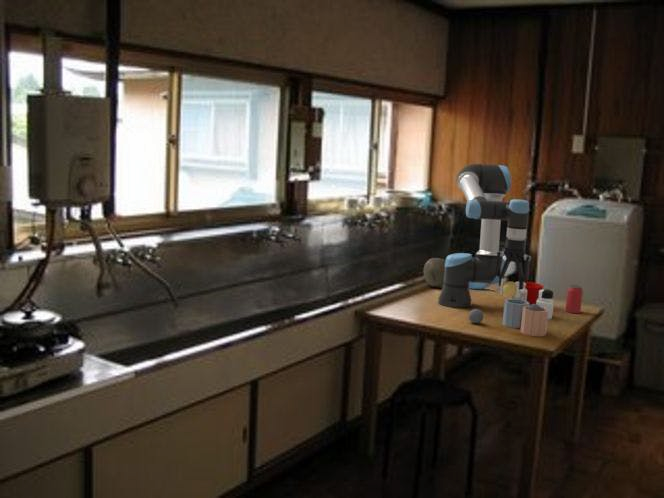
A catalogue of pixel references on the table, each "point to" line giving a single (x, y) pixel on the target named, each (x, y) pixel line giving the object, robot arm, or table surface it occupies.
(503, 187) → the robot arm
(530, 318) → the terracotta tube
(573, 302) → the beer can
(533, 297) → the ceramic cup
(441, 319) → the table surface
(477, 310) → the charcoal ball
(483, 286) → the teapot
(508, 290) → the ochre ball
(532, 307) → the charcoal ball
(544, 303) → the medicine bottle
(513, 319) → the slate tube
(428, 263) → the grey stone sphere
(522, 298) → the supplement bottle
